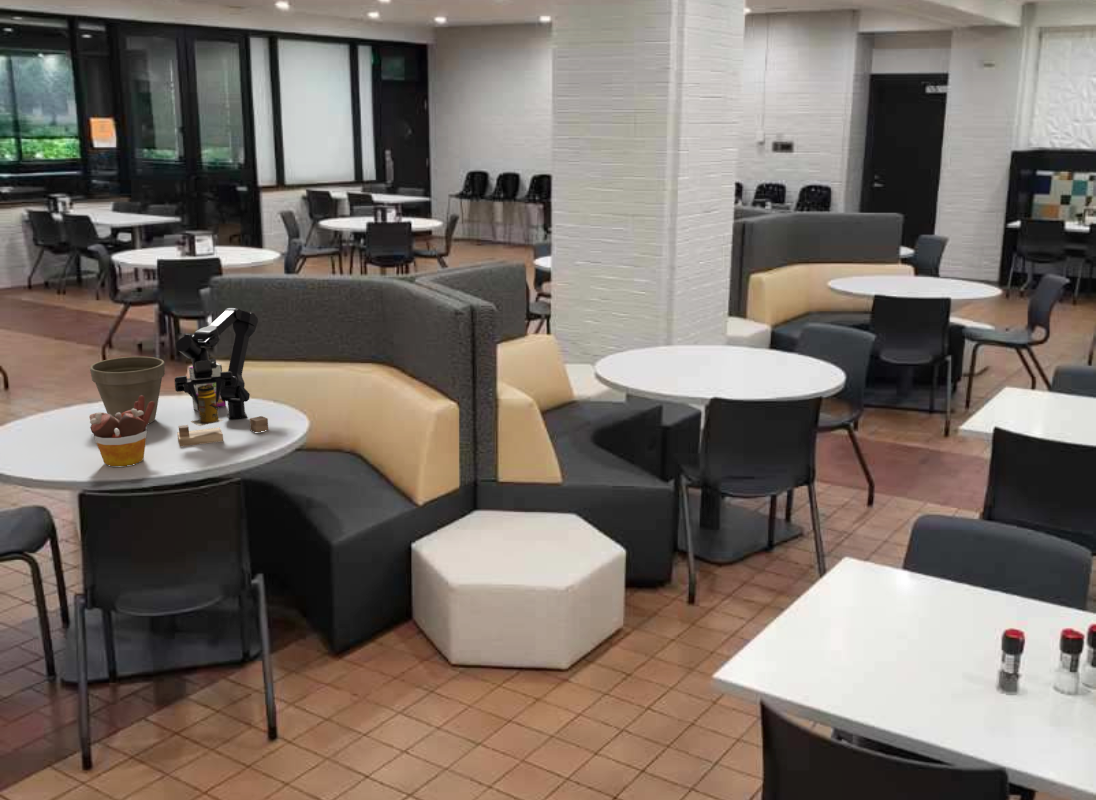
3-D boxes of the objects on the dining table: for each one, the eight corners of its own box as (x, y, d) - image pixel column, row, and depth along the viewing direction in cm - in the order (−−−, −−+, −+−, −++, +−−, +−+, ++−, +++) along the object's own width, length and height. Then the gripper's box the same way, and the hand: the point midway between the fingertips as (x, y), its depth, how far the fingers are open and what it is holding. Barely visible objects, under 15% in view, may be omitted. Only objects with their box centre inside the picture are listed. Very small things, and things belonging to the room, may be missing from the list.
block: (250, 430, 377) (249, 418, 376) (262, 428, 380) (261, 416, 379) (256, 433, 374) (255, 421, 373) (268, 430, 377) (267, 418, 375)
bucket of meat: (113, 474, 332) (105, 412, 327) (82, 465, 342) (74, 404, 336) (168, 457, 348) (162, 397, 343) (138, 449, 357) (131, 391, 352)
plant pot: (182, 422, 389) (175, 363, 384) (113, 436, 373) (105, 374, 368) (153, 409, 407) (147, 352, 402) (86, 422, 391) (79, 363, 386)
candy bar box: (220, 404, 413) (216, 362, 409) (226, 406, 409) (222, 364, 405) (192, 409, 406) (188, 366, 402) (197, 411, 403) (193, 368, 398)
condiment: (223, 420, 365) (219, 386, 362) (200, 426, 359) (195, 391, 356) (213, 416, 370) (209, 382, 367) (190, 422, 365) (185, 388, 361)
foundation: (177, 439, 368) (176, 423, 366) (220, 434, 373) (219, 419, 372) (179, 446, 360) (178, 430, 358) (223, 441, 365) (221, 425, 363)
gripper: (171, 353, 359) (177, 393, 352) (229, 348, 366) (236, 386, 359) (172, 371, 369) (178, 410, 362) (229, 365, 375) (235, 404, 368)
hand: (207, 402), depth 362 cm, fingers closed on condiment, 6 cm apart
